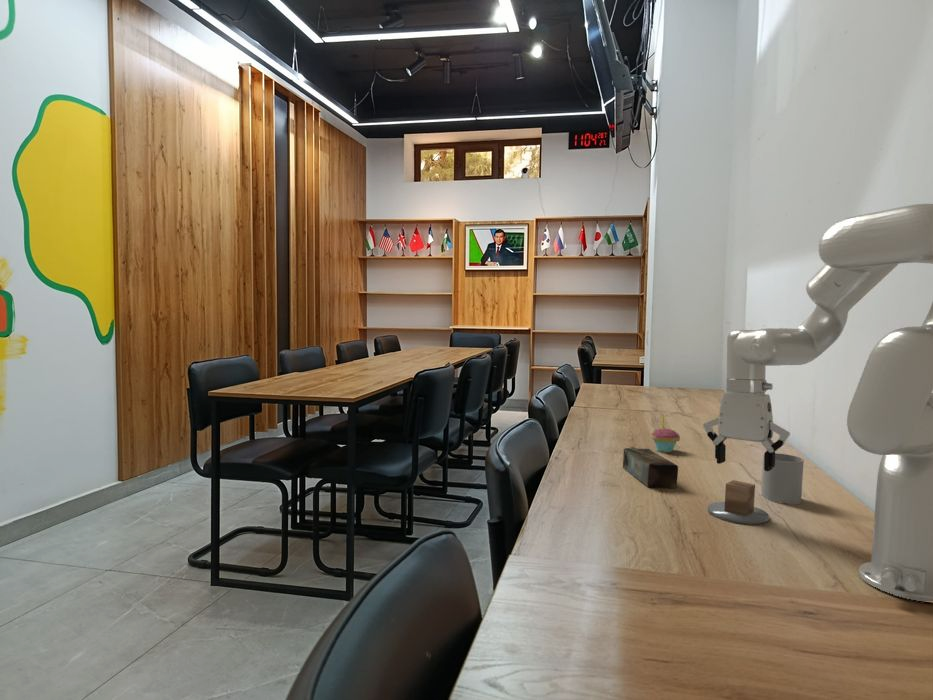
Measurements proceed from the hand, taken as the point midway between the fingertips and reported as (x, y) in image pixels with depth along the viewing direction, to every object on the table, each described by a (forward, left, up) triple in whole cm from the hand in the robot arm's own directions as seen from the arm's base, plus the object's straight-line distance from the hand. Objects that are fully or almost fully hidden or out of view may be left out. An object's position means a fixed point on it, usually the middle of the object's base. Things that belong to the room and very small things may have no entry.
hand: (744, 466), depth 122 cm
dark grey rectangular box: (+12, +28, -12) cm, 33 cm away
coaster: (0, +1, -11) cm, 11 cm away
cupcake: (+45, +39, -11) cm, 61 cm away
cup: (+20, -2, -11) cm, 23 cm away
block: (0, +1, -10) cm, 10 cm away
